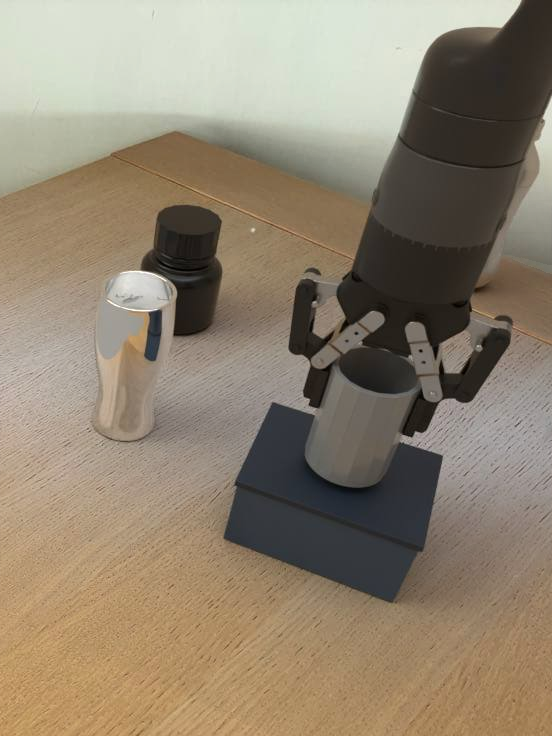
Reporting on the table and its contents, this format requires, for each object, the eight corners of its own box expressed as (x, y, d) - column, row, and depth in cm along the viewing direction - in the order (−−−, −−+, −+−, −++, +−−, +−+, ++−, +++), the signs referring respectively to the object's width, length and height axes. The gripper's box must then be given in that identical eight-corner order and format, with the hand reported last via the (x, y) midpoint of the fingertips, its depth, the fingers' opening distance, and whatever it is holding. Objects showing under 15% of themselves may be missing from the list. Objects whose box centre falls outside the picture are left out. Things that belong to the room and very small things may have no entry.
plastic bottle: (474, 301, 97) (546, 136, 84) (420, 278, 101) (481, 116, 88) (499, 282, 101) (572, 120, 88) (446, 260, 104) (508, 102, 92)
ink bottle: (189, 286, 99) (204, 193, 92) (231, 325, 93) (252, 229, 86) (118, 303, 96) (128, 209, 89) (157, 344, 90) (171, 247, 83)
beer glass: (74, 408, 82) (84, 278, 72) (135, 390, 84) (153, 262, 75) (108, 452, 77) (123, 319, 68) (172, 433, 79) (195, 301, 70)
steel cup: (392, 449, 66) (429, 359, 61) (378, 498, 62) (416, 407, 56) (314, 424, 69) (343, 335, 63) (295, 470, 64) (324, 380, 59)
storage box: (415, 513, 72) (443, 455, 67) (394, 606, 64) (424, 547, 60) (256, 459, 77) (272, 401, 72) (220, 539, 69) (235, 480, 65)
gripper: (566, 215, 52) (468, 417, 62) (331, 166, 57) (278, 361, 68) (562, 269, 47) (457, 479, 57) (305, 211, 52) (252, 413, 63)
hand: (360, 414), depth 62 cm, fingers closed on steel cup, 6 cm apart
